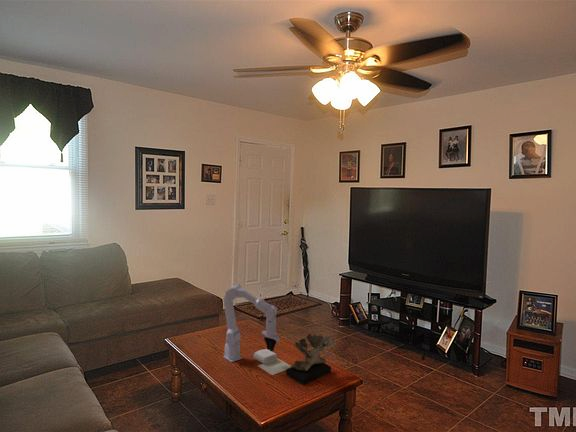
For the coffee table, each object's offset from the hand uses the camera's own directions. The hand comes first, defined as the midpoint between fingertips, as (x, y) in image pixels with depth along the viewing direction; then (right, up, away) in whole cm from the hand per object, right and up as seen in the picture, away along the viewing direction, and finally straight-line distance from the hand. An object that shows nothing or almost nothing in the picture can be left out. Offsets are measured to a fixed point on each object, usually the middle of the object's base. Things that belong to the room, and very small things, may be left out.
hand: (270, 350), depth 219 cm
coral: (+25, -10, -12) cm, 29 cm away
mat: (+3, -9, -3) cm, 9 cm away
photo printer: (0, -6, +1) cm, 6 cm away
